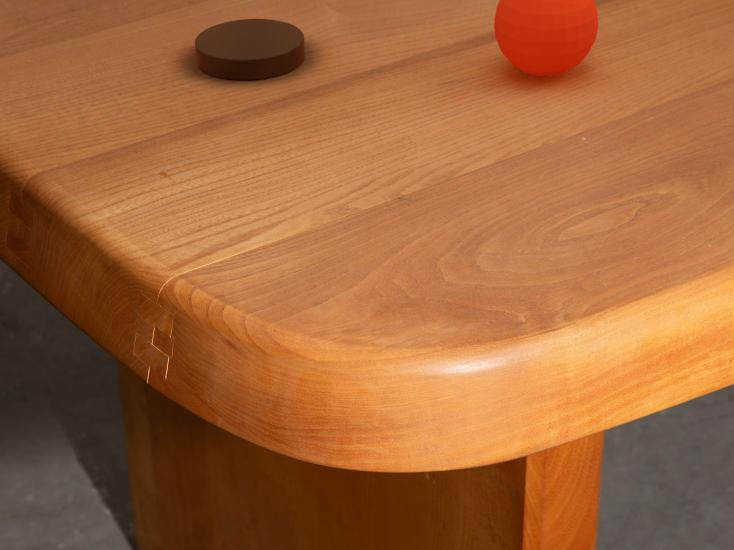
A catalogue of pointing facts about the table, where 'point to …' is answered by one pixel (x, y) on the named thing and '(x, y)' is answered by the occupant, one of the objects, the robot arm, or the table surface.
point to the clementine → (545, 33)
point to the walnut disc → (250, 49)
